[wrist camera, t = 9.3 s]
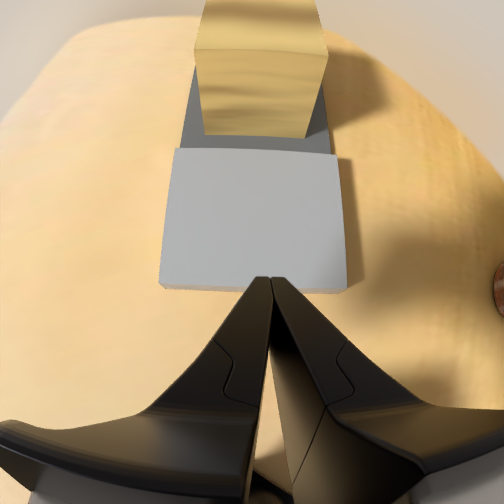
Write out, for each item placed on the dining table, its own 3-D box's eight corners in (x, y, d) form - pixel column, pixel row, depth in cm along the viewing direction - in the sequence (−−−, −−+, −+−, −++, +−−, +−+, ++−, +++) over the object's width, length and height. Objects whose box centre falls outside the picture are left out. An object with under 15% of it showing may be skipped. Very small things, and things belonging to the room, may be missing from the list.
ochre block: (304, 138, 25) (328, 56, 16) (204, 134, 25) (193, 49, 16) (297, 74, 27) (313, -2, 19) (213, 70, 27) (208, -7, 18)
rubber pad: (330, 165, 25) (332, 161, 24) (180, 158, 25) (178, 154, 24) (318, 74, 28) (319, 70, 28) (196, 68, 28) (195, 64, 27)
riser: (338, 293, 22) (347, 288, 20) (165, 288, 22) (158, 283, 20) (330, 168, 25) (336, 155, 23) (179, 162, 25) (175, 148, 23)
